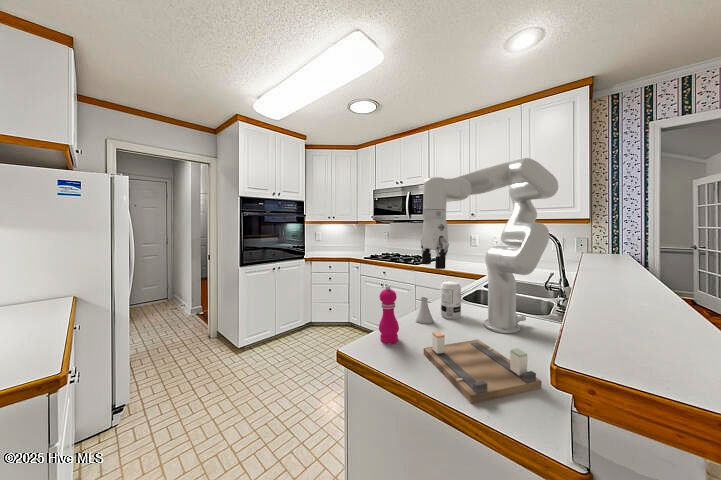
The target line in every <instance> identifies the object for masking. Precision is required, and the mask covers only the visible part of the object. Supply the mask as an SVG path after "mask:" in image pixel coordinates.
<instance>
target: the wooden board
mask: <svg viewBox="0 0 721 480" xmlns="http://www.w3.org/2000/svg"><path fill="white" fill-rule="evenodd" d="M423 355H424V356H425V357H426V359H428V361H429V362H431V364H432V365H433V366H434V367H435V368H436V369H437V370H438V371H439V372H440V373H442V375H443V376H444V377H445V378H446V379H447V380H448V381H449V382H450V383H451V384H452V385H453V386H454V388H455V389H456V390H457V391H458V392H459V393H460V394H461V395H462V396H463V397H464V398H465V399H466V400H467V401H468V402H469V403H470V404H475V403H481V402H486V401H490V400H493V399H494V400H495V399H500V398H503V397H508V396H512V395H516V394H517V395H518V394H521V393H526V392H531V391H536V390H540V389H542V380H541V379H540V378H538V376H537V373H536V372H534V371H533V370H529V371H527V372H524V373H522V375H520V376H519V375H518V374H516V373H515V372H513V371H512V370H510V358H507V357H506V356H504V355H503V354H502V353H499V352H498V351H496V350H495V349H494V348H493V347H491V346H489V345H487V344H486V343H484V342H483V341H481V340H480V339H473V340H466V341H461V342H460V341H459V342H453V343H447V344H445V353H439V354H437V353H436V352H435V351H434V350H433V347H432V346H429V347H428V346H427V347H423Z"/></svg>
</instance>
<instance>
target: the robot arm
mask: <svg viewBox="0 0 721 480" xmlns="http://www.w3.org/2000/svg"><path fill="white" fill-rule="evenodd" d="M508 186H509V190H508V193H509V197H510V200H511V203H512V213H511V214H510V217H509V218H508V220H507V222H506V224H505V225H504V228H503V230H502V232H501V235H500V241H501V242H502V244H503V245H494V246H491V247H490V248H489V249H488V250H487V251H486V253H485V258H484V259H485V260H484V261H485V266H486V270H487V318H486V319H485V320H484V321H483V326H484V327H485V328H486V329H488V330H490V331H493V332H496V333H501V334H516V333H518V332H520V331H521V325H520V324H519V323H520V322H525V321H526V320H527V318H526V316H525V315H519V316H518V315H517V312H516V311H517V282H516V278H515V275H520V276H527V275H530V274H532V273H533V272H534V271H535V270H536V268H537V265H538V264H539V263H540V260H541V258H542V256H543V254H544V252H545V250H546V248H547V246H548V244H549V241H550V231H549V229H548V227H547V225H545V224H544V223H541V222H536V220H537V217H538V212H537V210H536V207H535V205H534V204H533V202H532V200H541V199H542V200H543V199H545V200H546V199H549V198H552V197H554V196H555V195H557V193H558V190H559V181H558V179H557V178H556V176H555V175H554V174H553V173H551V171H549V170H548V169H547V168H546V167H545V166H543V165H542V164H541V163H539V161H537V160H535V159H534V158H530V157H524V158H520V159H516V160H511V161H506V162H503V163H500V164H496V165H491V166H489V167H486V168H481V169H478V170H475V171H472V172H469V173H467V174H462V175H459V176H456V177H453V178H452V177H451V178H445V177H442V176H441V177H439V176H433V177H428V178H426V179H424V181H423V190H422V193H423V194H422V195H423V199H422V200H423V201H422V202H423V203H422V220H423V224H422V233H421V234H422V235H421V239H420V245H421V246H420V247H421V264H422V265H431V263H432V252H431V251H432V250H433V251H435V254H436V256H435V266H434V268H435V269H436V270H445V269H446V259H447V258H446V257H447V255H448V254H447V253H448V252H449V250H448V249H449V247H450V243H449V231H448V222H447V203H449V202H460V201H463V200H466V199H468V198H469V196H473V195H474V196H475V195H481V194H486V193H490V192H493V191H496V190H499V189H502V188H505V187H508Z"/></svg>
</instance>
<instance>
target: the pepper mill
mask: <svg viewBox="0 0 721 480" xmlns="http://www.w3.org/2000/svg"><path fill="white" fill-rule="evenodd" d="M384 288H385V289H382V290H381V291H380V293H379V300H380V302H381V304H380V305H381V306H380V307H381V308H382V315H381V319H380V320H379V324H378V331H379V332H380V335H379V336H380V341H381V343H383V344H388V345H389V344H395V343H397V342H398V340H399V335H398V332H399V330H400V326H399V323H398V320H397V319H396V318H397V317H396V316H395V308H396V301H397V294H396V292H395V290H393V289H391V286H390V285H389V284H386V286H385V287H384Z"/></svg>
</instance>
